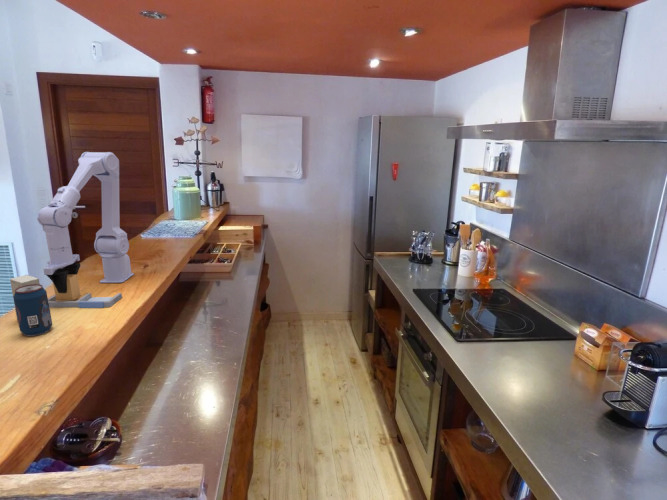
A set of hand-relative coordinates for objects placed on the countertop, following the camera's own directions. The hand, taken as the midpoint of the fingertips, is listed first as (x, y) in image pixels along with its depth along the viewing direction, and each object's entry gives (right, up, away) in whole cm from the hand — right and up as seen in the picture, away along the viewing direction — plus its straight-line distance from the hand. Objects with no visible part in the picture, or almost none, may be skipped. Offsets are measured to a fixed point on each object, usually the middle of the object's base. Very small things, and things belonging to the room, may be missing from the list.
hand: (67, 289), depth 127 cm
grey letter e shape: (+5, -4, +1) cm, 6 cm away
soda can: (+4, -9, -19) cm, 21 cm away
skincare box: (-2, -7, -12) cm, 14 cm away
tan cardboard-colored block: (0, -3, +1) cm, 3 cm away
